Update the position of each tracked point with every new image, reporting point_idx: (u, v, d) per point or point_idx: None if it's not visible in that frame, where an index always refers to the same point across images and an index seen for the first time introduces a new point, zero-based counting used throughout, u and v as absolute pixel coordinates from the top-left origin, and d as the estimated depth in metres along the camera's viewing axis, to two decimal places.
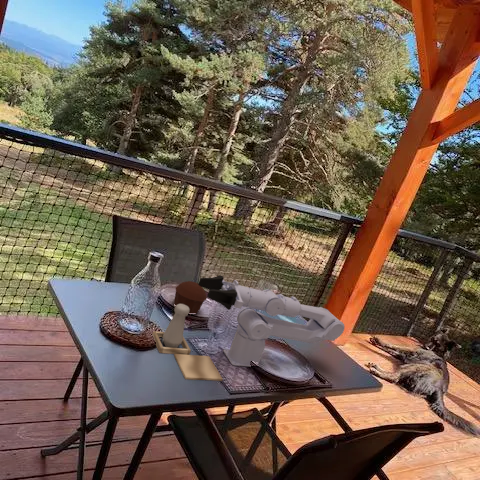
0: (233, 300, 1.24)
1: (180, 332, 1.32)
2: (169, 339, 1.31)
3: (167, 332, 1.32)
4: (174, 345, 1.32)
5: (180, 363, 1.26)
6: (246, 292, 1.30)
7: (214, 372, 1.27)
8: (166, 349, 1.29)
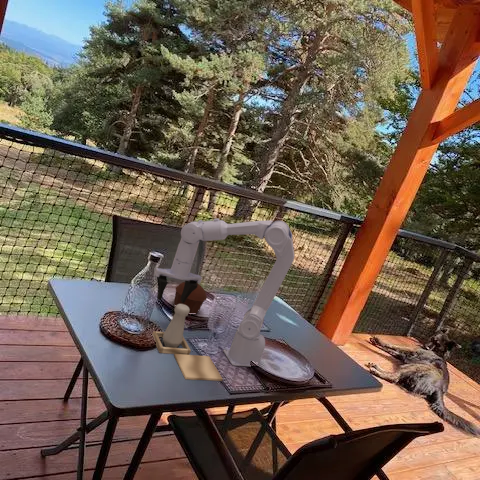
0: (157, 277, 1.37)
1: (180, 332, 1.32)
2: (169, 339, 1.31)
3: (167, 332, 1.32)
4: (174, 345, 1.32)
5: (180, 363, 1.26)
6: None
7: (214, 372, 1.27)
8: (166, 349, 1.29)
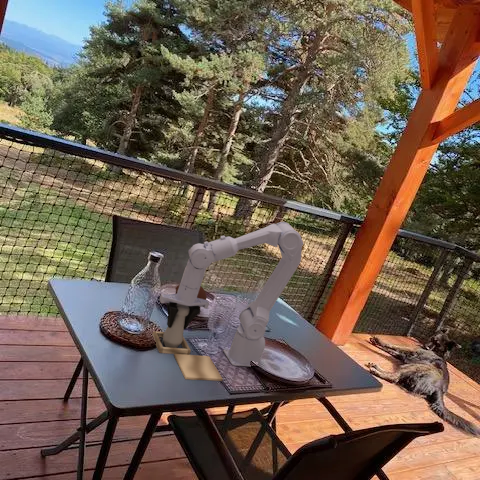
0: (167, 303, 1.30)
1: (180, 332, 1.32)
2: (169, 339, 1.31)
3: (167, 332, 1.32)
4: (174, 345, 1.32)
5: (180, 363, 1.26)
6: None
7: (214, 372, 1.27)
8: (166, 349, 1.29)
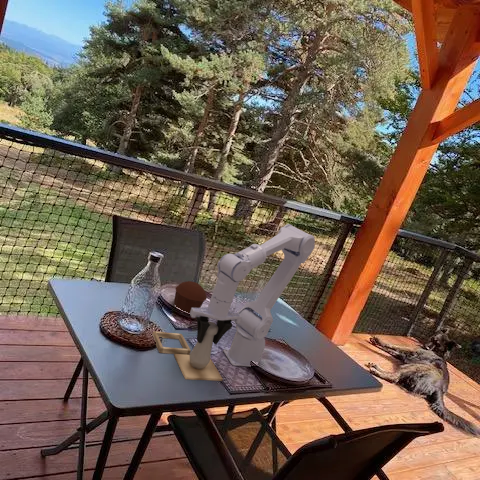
0: (198, 317, 1.22)
1: (209, 351, 1.25)
2: (197, 360, 1.24)
3: (195, 352, 1.25)
4: (203, 365, 1.25)
5: (180, 363, 1.26)
6: None
7: (214, 372, 1.27)
8: (166, 349, 1.29)
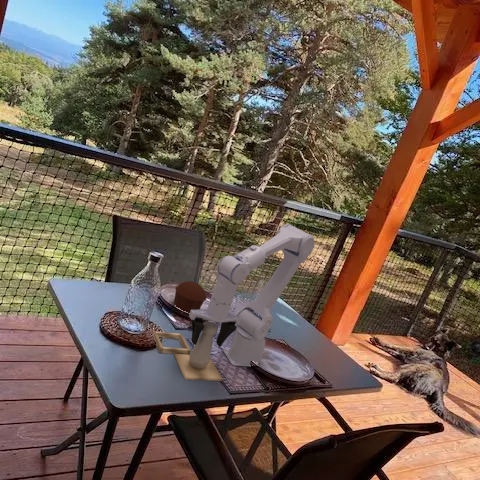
0: None
1: (209, 351, 1.25)
2: (197, 360, 1.24)
3: (195, 352, 1.25)
4: (203, 365, 1.25)
5: (180, 363, 1.26)
6: None
7: (214, 372, 1.27)
8: (166, 349, 1.29)
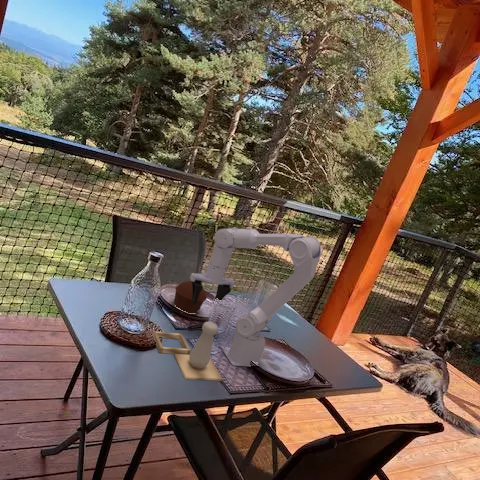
0: (193, 281, 1.41)
1: (209, 351, 1.25)
2: (197, 360, 1.24)
3: (195, 352, 1.25)
4: (203, 365, 1.26)
5: (180, 363, 1.26)
6: None
7: (214, 372, 1.27)
8: (166, 349, 1.29)
